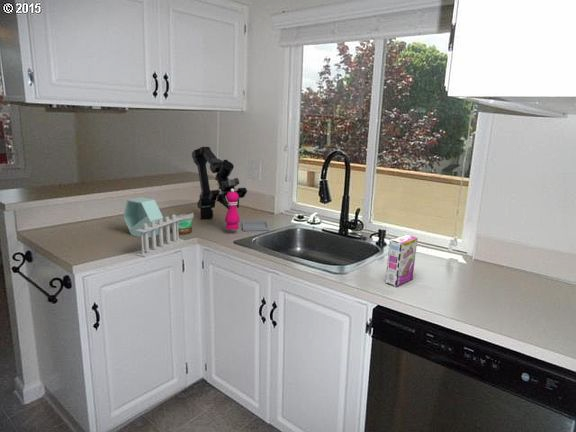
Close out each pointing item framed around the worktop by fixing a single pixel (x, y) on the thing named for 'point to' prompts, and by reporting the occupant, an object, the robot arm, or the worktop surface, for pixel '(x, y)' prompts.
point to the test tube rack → (153, 234)
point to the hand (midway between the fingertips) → (233, 208)
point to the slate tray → (255, 226)
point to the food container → (184, 223)
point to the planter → (141, 215)
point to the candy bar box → (401, 260)
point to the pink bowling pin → (232, 211)
